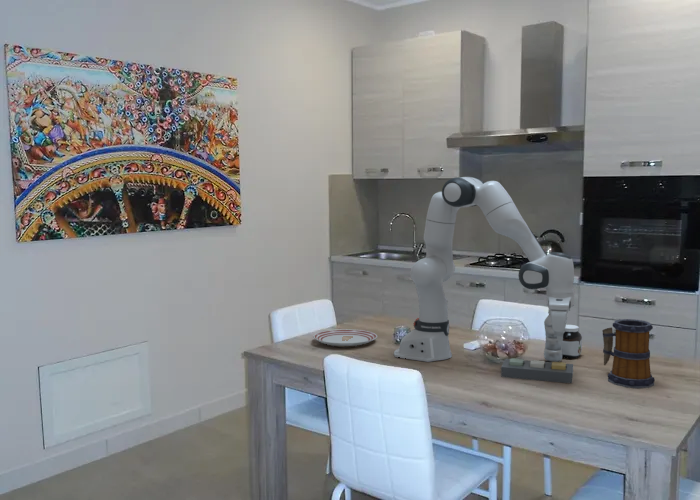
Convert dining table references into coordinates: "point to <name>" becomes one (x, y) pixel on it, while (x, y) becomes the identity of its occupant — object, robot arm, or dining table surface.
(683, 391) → the dining table surface
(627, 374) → the mug
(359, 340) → the dinner plate
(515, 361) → the sage-green key
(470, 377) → the dining table surface
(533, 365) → the cream key
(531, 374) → the keypad
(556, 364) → the ochre key
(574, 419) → the dining table surface
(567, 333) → the spread jar
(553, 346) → the plastic bottle
